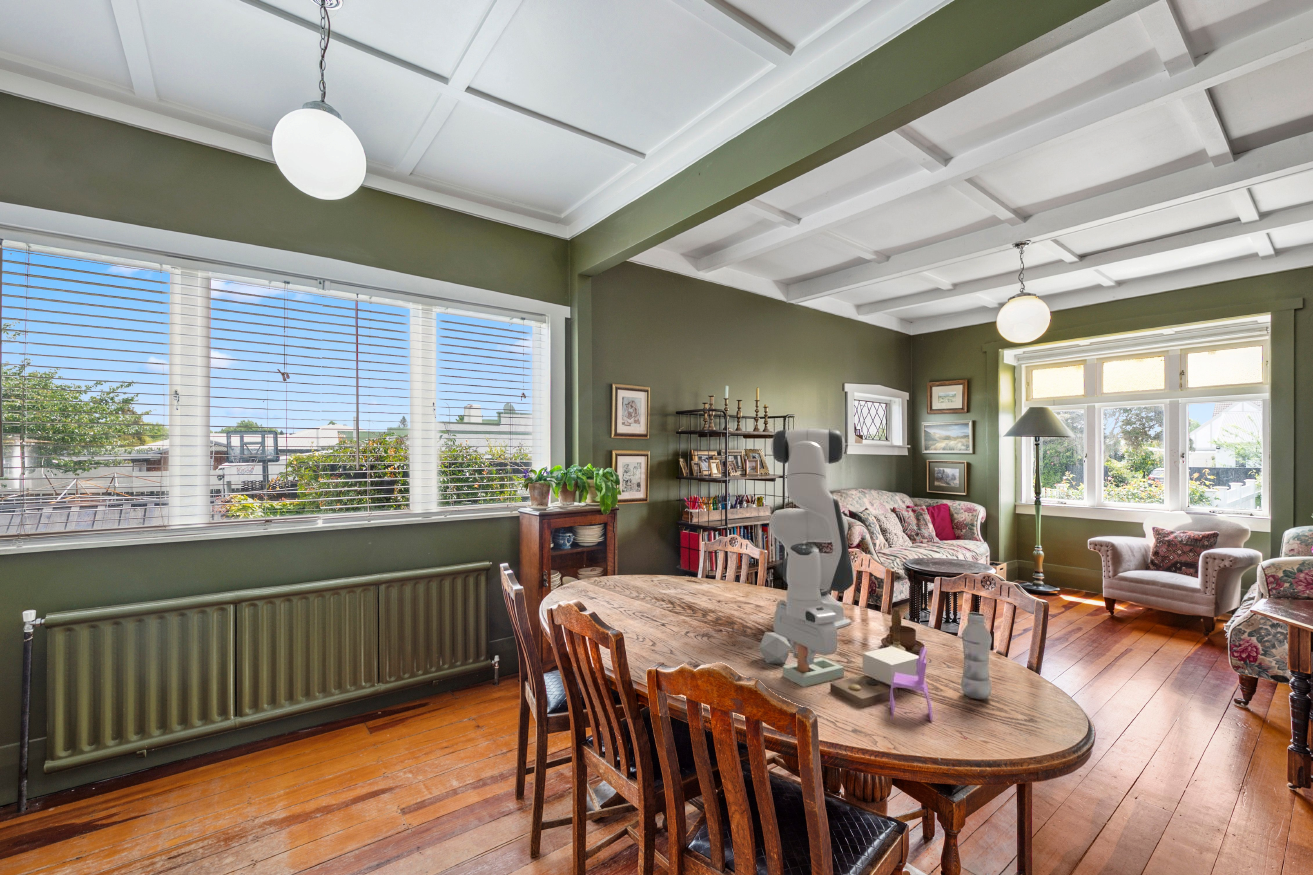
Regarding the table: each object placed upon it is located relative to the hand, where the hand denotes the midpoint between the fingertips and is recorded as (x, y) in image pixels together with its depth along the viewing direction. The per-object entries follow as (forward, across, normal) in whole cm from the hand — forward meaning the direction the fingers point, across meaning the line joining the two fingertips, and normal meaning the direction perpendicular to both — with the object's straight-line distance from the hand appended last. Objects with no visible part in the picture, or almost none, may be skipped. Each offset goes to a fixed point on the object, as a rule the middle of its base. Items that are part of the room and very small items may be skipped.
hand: (803, 661), depth 152 cm
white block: (+2, +14, +17) cm, 22 cm away
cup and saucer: (+5, -3, +42) cm, 43 cm away
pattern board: (+5, +14, +6) cm, 16 cm away
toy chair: (+5, +26, +8) cm, 28 cm away
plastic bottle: (+5, +28, +30) cm, 41 cm away
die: (+5, -13, +2) cm, 14 cm away
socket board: (+5, 0, +4) cm, 6 cm away
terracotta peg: (+3, 0, 0) cm, 3 cm away
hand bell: (+5, +6, +28) cm, 30 cm away
